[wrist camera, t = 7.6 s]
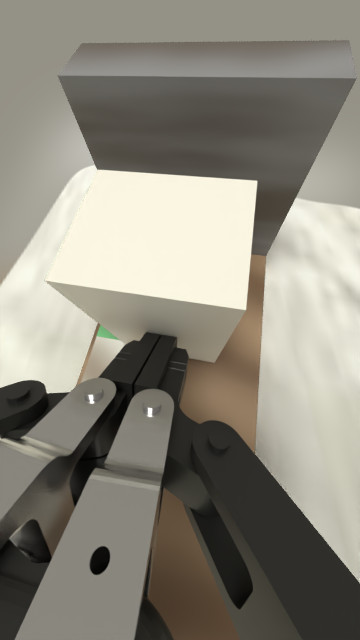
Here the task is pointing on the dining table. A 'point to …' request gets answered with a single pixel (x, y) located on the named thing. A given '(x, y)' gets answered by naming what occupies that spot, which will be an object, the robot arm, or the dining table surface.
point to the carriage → (161, 257)
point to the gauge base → (215, 162)
